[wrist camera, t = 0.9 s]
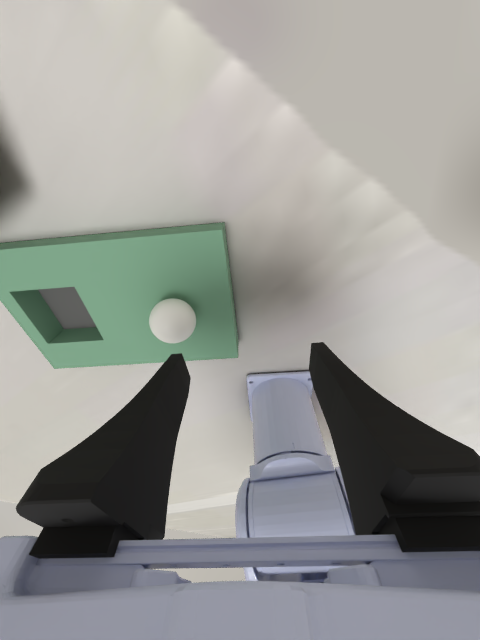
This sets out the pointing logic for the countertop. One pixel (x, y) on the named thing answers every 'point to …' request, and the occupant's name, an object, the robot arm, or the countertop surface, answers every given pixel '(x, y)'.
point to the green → (120, 294)
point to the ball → (172, 320)
